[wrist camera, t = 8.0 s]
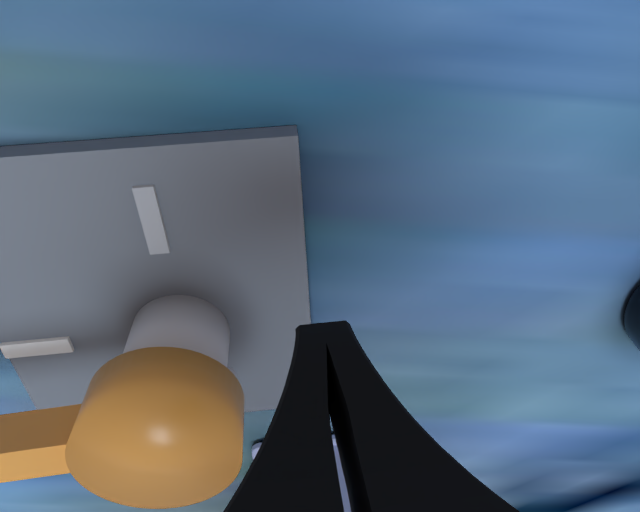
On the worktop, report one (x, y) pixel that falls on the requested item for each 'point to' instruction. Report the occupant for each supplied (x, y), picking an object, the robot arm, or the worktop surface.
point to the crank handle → (138, 431)
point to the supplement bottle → (633, 317)
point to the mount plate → (153, 256)
